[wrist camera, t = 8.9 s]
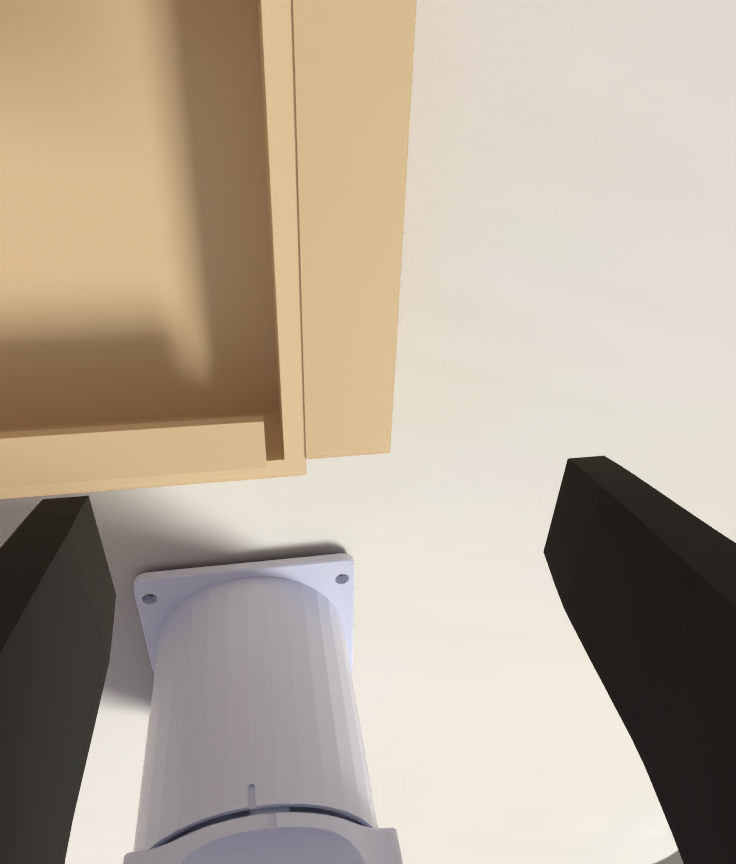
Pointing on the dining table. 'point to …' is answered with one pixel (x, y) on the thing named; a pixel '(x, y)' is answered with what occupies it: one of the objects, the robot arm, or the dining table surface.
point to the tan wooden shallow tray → (198, 237)
